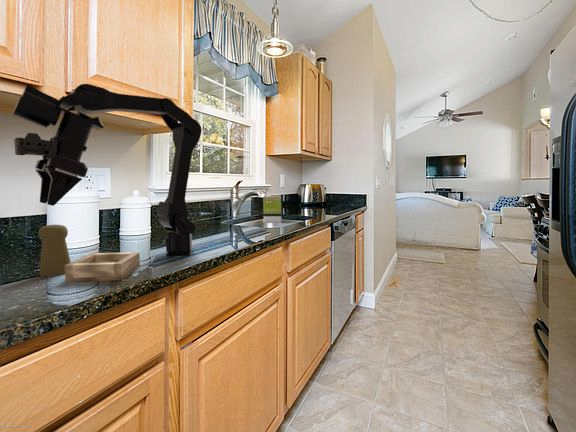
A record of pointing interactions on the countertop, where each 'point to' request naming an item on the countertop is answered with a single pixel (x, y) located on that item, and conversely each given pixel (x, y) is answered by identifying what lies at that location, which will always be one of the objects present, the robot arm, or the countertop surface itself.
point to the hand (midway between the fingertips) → (46, 203)
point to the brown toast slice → (53, 250)
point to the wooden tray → (102, 267)
